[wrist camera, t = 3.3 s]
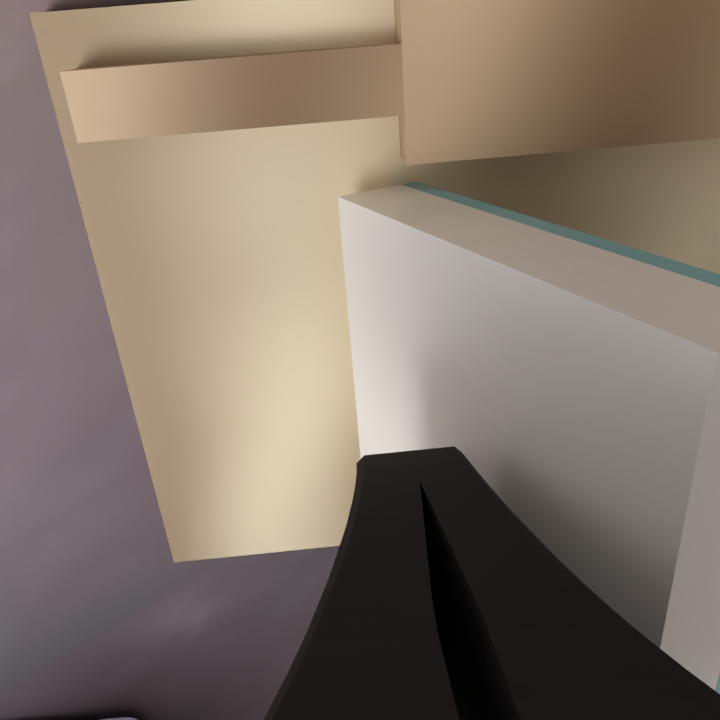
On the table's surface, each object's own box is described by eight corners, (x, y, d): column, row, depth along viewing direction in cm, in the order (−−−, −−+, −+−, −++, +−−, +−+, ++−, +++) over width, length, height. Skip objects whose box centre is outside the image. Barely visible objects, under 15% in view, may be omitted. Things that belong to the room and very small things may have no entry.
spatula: (104, 181, 11) (90, 191, 10) (63, 14, 10) (44, 13, 9) (746, 126, 11) (775, 133, 11) (777, -42, 10) (811, -47, 10)
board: (178, 544, 16) (173, 562, 15) (43, 13, 11) (29, 13, 10) (725, 489, 16) (739, 505, 15) (844, -50, 11) (872, -54, 10)
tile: (366, 526, 14) (622, 842, 9) (337, 197, 11) (716, 352, 5) (426, 501, 15) (703, 782, 9) (415, 182, 12) (832, 307, 6)
